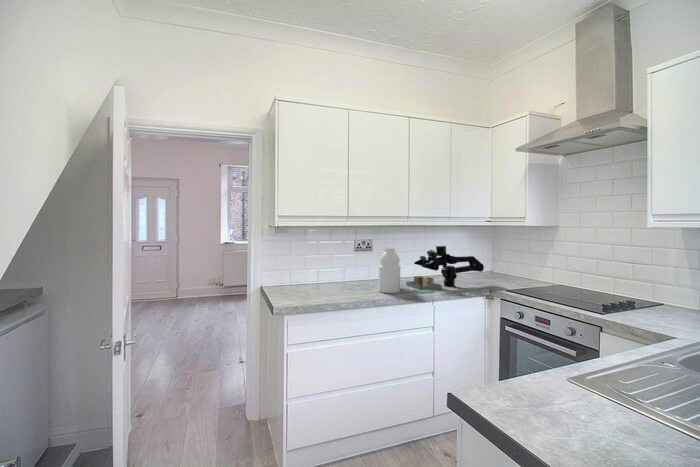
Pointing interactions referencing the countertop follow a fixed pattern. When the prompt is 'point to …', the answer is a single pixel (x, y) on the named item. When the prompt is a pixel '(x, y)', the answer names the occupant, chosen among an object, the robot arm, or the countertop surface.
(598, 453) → the countertop surface
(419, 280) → the walnut block
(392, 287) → the bottle
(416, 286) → the grey square slab
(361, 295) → the countertop surface
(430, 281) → the oak block
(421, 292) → the green pad
